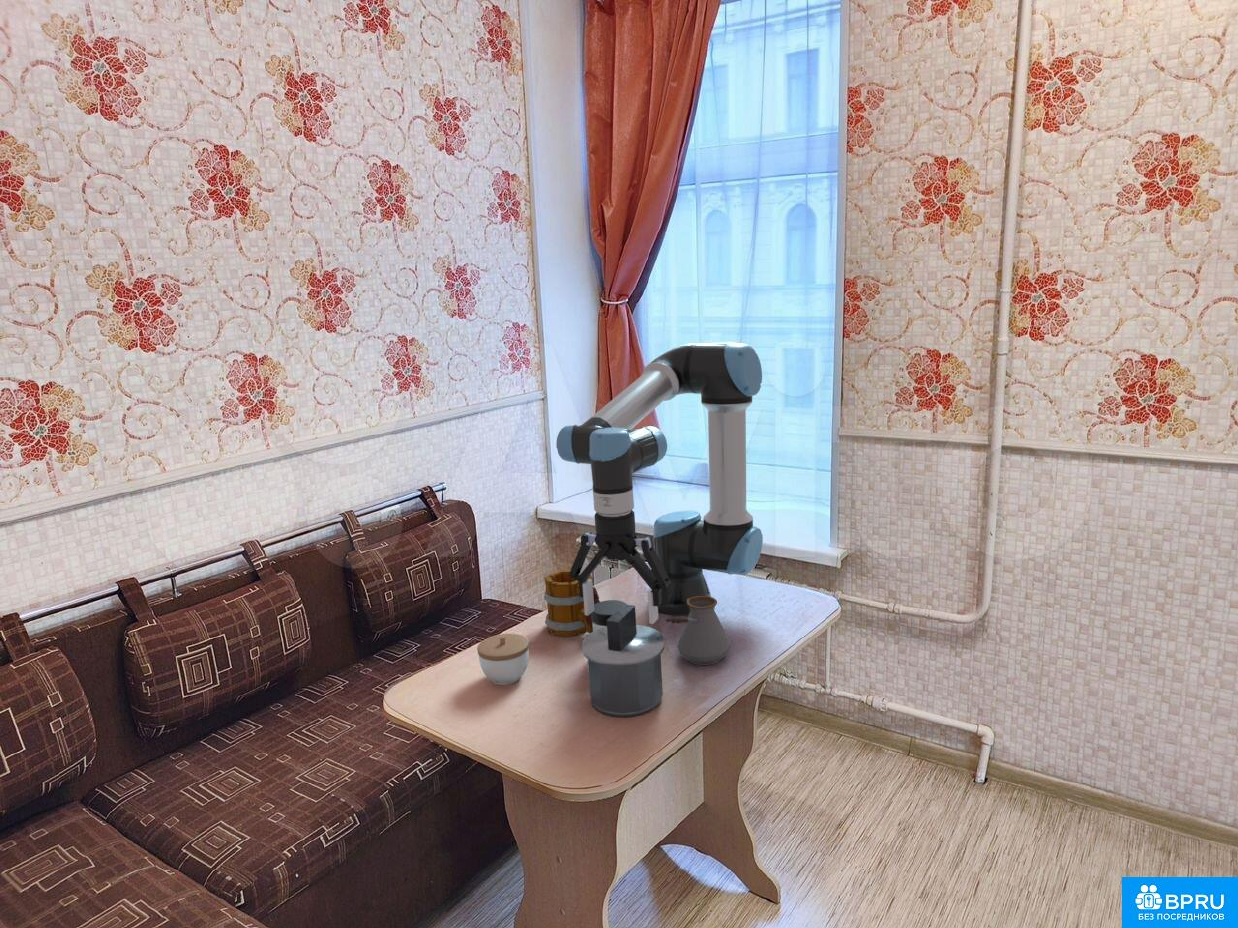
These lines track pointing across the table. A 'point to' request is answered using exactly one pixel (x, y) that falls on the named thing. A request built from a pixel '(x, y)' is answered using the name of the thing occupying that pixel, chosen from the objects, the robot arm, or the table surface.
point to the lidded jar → (504, 657)
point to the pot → (626, 688)
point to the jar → (604, 612)
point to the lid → (623, 641)
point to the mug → (566, 605)
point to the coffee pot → (701, 632)
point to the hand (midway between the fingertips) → (621, 616)
